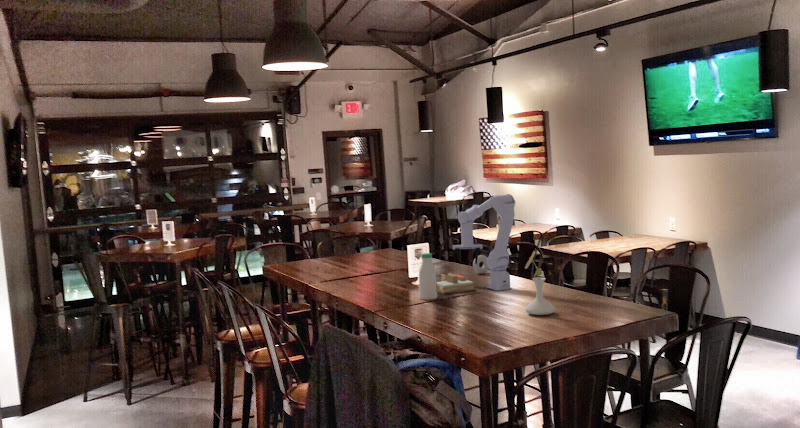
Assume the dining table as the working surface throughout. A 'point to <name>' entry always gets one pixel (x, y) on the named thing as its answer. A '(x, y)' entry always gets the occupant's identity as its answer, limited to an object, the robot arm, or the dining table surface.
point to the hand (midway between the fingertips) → (468, 263)
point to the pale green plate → (453, 281)
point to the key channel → (444, 277)
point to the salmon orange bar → (460, 277)
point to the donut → (477, 267)
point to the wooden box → (455, 288)
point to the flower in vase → (538, 295)
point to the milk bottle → (427, 278)
